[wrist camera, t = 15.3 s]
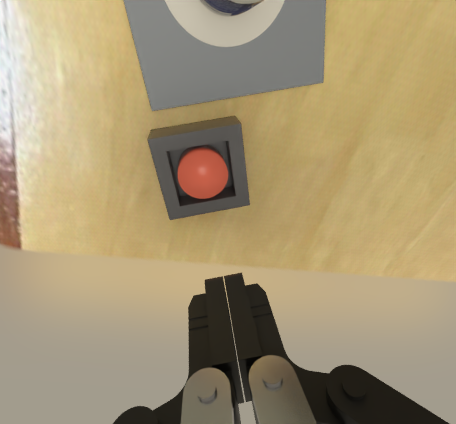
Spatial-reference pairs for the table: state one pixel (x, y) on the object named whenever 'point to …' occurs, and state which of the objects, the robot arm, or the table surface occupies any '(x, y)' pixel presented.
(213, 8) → the pill bottle
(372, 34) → the table surface
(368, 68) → the table surface
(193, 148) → the button
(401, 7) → the table surface
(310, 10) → the grey mat
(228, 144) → the button housing
